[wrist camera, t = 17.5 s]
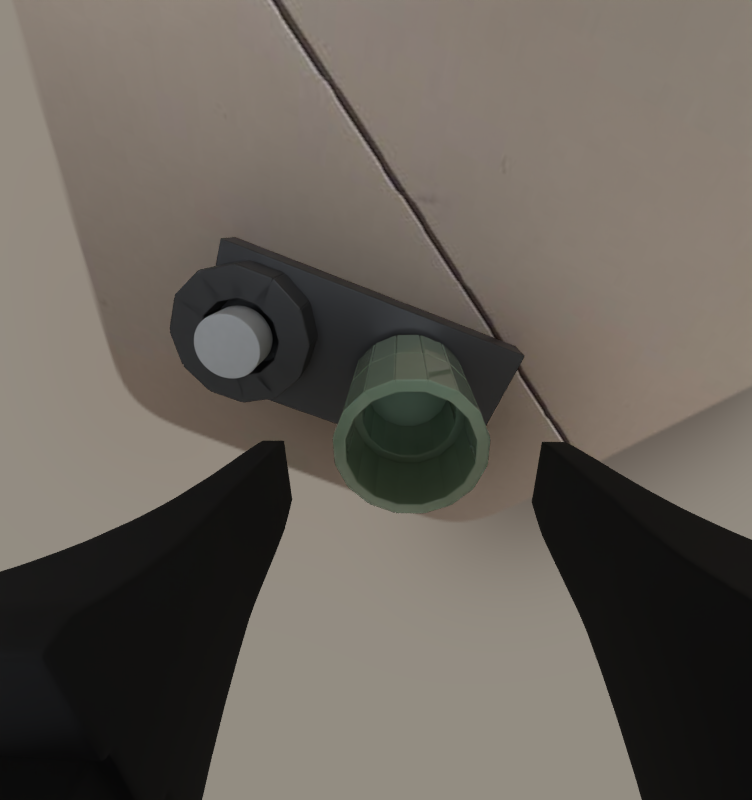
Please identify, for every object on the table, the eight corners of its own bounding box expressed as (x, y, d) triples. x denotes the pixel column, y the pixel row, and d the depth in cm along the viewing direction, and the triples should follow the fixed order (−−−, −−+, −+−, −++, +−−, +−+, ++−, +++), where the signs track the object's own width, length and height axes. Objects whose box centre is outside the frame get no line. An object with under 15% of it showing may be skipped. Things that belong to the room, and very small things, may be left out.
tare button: (207, 352, 16) (188, 365, 14) (218, 295, 15) (199, 303, 13) (264, 373, 16) (252, 388, 15) (279, 318, 15) (267, 328, 14)
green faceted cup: (355, 433, 18) (338, 512, 13) (349, 331, 16) (327, 379, 11) (459, 433, 18) (482, 515, 13) (467, 330, 16) (497, 379, 11)
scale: (195, 359, 19) (161, 382, 16) (219, 230, 16) (182, 232, 14) (458, 452, 20) (467, 489, 17) (516, 346, 18) (537, 369, 15)
